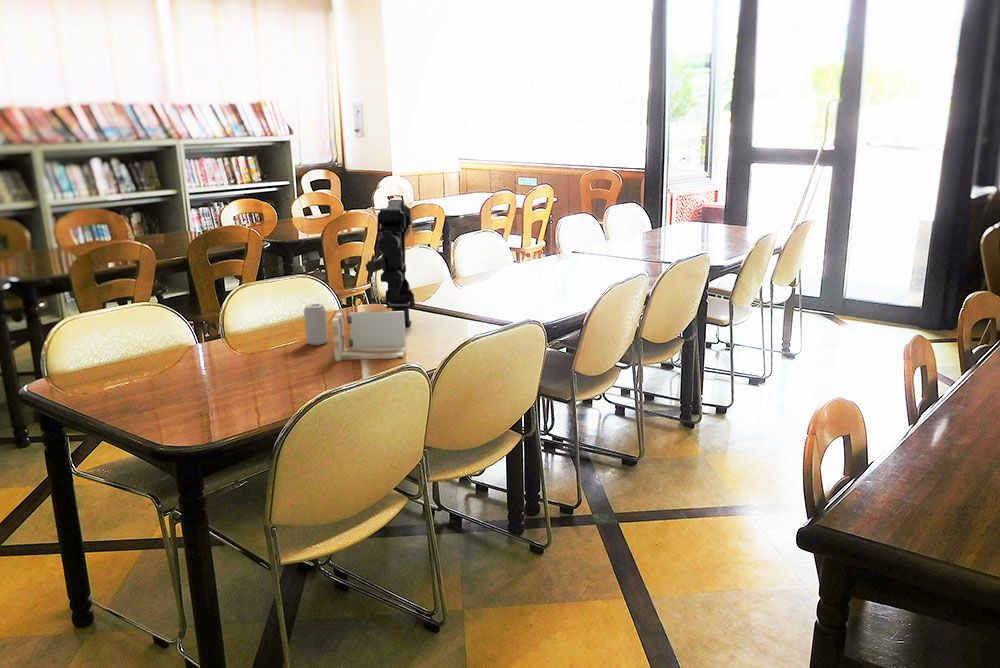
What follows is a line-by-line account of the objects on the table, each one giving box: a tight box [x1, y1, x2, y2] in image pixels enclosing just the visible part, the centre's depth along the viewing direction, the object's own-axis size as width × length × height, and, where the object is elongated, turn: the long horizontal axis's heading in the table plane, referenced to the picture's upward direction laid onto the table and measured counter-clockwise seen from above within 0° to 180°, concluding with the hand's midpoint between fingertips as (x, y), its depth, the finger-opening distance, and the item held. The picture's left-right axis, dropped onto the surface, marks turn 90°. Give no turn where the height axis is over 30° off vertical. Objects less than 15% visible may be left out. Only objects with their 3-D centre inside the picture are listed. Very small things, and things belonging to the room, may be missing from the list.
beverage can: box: [303, 303, 329, 346], centre depth 246 cm, size 6×6×12 cm
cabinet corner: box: [331, 311, 406, 362], centre depth 232 cm, size 10×19×12 cm, turn 92°
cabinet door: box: [346, 310, 407, 349], centre depth 238 cm, size 2×17×11 cm, turn 93°
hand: (395, 299), depth 250 cm, fingers closed
